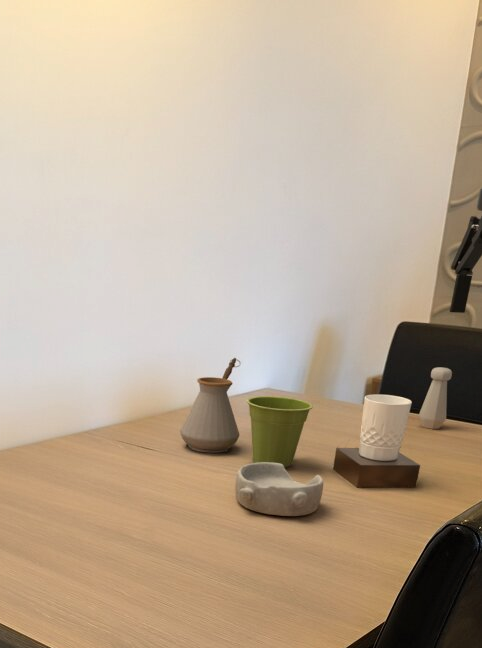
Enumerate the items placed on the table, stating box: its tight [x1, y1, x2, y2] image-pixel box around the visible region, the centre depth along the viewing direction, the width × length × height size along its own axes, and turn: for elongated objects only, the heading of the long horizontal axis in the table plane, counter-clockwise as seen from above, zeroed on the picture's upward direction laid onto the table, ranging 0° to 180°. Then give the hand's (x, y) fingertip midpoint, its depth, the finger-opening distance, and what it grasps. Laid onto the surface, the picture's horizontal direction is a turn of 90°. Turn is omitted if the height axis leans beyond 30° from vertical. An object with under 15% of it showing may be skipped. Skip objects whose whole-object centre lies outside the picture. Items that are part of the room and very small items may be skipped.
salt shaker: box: [418, 366, 453, 430], centre depth 184 cm, size 6×6×13 cm
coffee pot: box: [179, 357, 242, 453], centre depth 161 cm, size 21×12×15 cm, turn 160°
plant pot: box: [246, 395, 314, 469], centre depth 150 cm, size 12×12×11 cm
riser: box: [332, 447, 421, 489], centre depth 147 cm, size 11×11×4 cm
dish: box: [234, 462, 324, 517], centre depth 130 cm, size 14×14×5 cm
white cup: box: [358, 394, 413, 461], centre depth 144 cm, size 8×8×10 cm
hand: (476, 317), depth 150 cm, fingers open, 13 cm apart
